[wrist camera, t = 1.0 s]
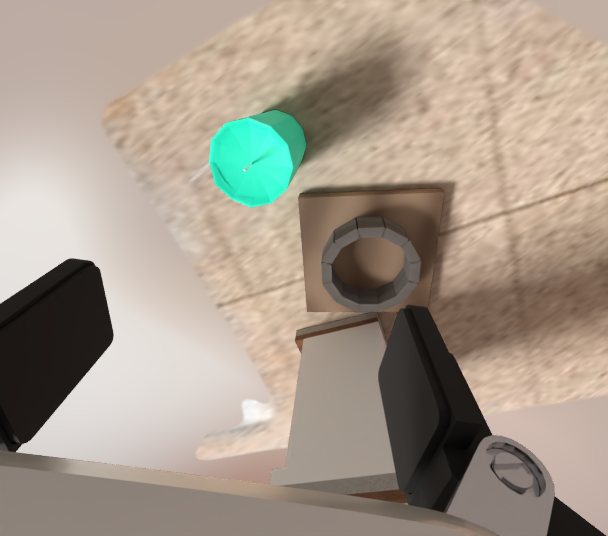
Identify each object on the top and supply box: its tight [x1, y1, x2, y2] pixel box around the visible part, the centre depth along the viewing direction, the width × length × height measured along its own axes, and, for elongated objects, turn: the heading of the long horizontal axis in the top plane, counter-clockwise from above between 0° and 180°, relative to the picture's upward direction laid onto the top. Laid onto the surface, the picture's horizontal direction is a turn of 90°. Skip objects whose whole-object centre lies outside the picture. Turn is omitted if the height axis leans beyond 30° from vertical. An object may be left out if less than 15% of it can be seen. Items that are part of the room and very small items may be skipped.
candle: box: [209, 110, 306, 207], centre depth 26 cm, size 6×6×12 cm
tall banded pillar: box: [270, 312, 408, 505], centre depth 28 cm, size 11×11×35 cm
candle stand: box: [298, 188, 444, 312], centre depth 34 cm, size 14×14×4 cm
